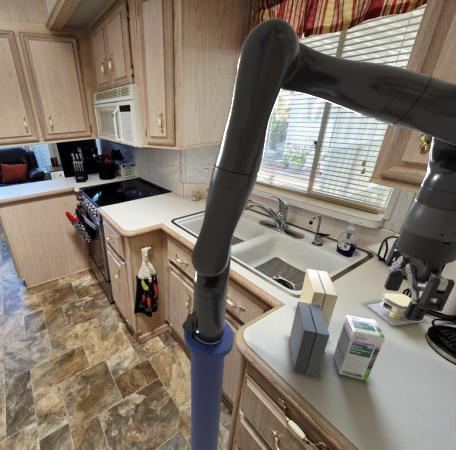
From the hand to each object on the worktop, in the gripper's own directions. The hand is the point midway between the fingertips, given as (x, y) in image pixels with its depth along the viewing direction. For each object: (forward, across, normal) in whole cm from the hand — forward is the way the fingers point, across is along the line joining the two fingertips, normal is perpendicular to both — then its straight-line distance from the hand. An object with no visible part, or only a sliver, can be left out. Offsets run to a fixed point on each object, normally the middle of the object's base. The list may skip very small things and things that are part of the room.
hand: (400, 303), depth 48 cm
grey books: (+25, -4, -12) cm, 28 cm away
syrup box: (+25, -4, -2) cm, 25 cm away
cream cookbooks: (+25, -17, -9) cm, 31 cm away
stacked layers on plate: (+25, -29, +16) cm, 42 cm away
